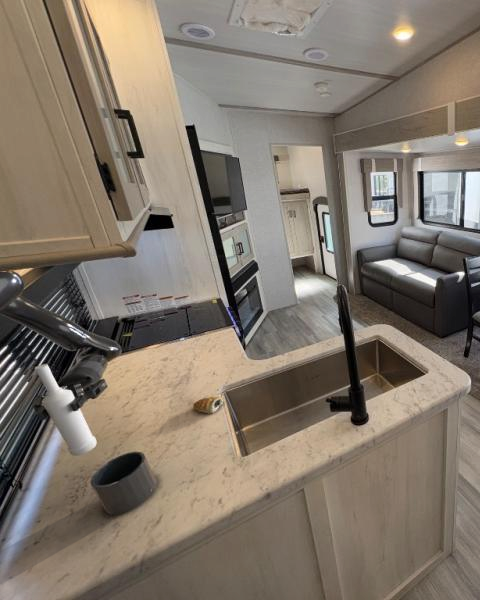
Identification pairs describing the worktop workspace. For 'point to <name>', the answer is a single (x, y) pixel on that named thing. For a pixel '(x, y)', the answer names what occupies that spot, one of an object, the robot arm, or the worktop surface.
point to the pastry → (208, 404)
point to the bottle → (65, 414)
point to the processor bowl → (124, 483)
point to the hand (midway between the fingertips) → (58, 412)
